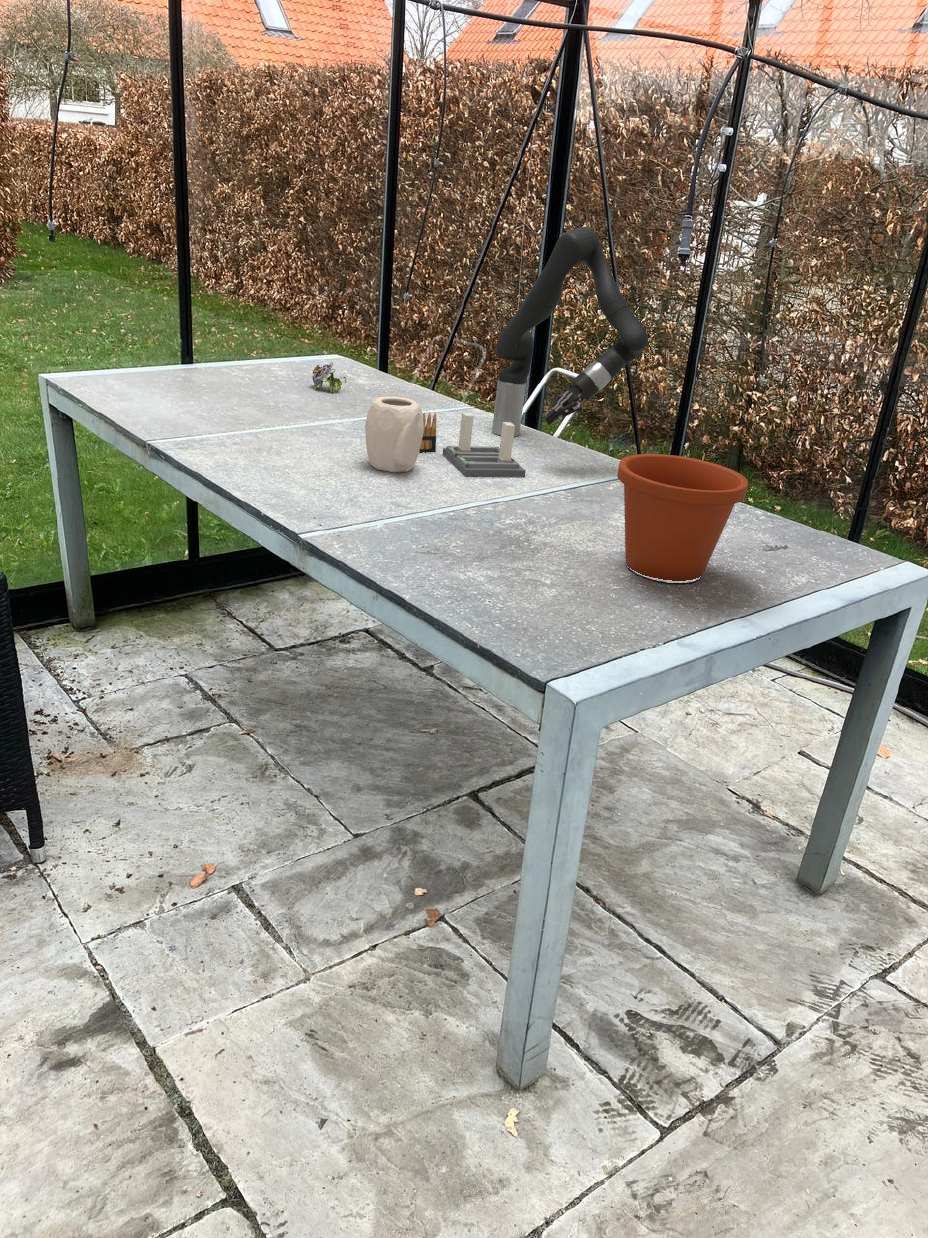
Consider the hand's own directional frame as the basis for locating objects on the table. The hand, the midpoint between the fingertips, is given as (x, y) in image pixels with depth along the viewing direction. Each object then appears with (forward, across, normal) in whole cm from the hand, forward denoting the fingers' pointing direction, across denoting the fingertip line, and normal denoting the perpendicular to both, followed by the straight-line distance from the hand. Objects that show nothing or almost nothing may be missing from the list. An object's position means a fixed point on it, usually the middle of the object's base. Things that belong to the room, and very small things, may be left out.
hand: (546, 421), depth 279 cm
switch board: (+22, -5, -1) cm, 22 cm away
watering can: (+42, -1, -21) cm, 46 cm away
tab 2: (+17, 0, +1) cm, 17 cm away
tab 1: (+23, -10, -6) cm, 26 cm away
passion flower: (+41, -98, -20) cm, 108 cm away
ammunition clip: (+33, -18, -12) cm, 40 cm away
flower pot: (+11, +75, +10) cm, 76 cm away
